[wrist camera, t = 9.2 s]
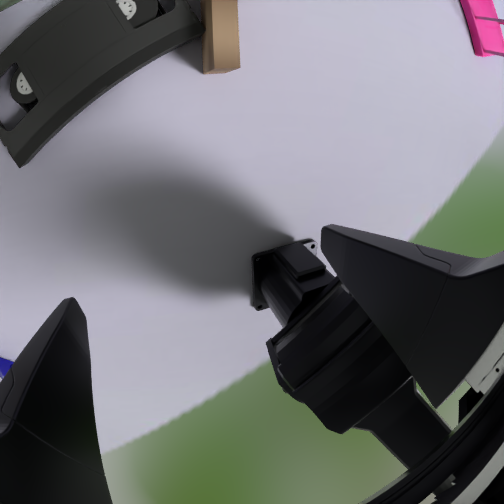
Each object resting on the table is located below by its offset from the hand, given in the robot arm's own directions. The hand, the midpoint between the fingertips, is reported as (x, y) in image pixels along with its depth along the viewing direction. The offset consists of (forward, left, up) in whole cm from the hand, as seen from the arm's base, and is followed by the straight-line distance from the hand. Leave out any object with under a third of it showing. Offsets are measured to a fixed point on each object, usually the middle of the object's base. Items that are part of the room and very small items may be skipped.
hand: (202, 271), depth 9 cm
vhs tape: (+11, +5, -12) cm, 17 cm away
